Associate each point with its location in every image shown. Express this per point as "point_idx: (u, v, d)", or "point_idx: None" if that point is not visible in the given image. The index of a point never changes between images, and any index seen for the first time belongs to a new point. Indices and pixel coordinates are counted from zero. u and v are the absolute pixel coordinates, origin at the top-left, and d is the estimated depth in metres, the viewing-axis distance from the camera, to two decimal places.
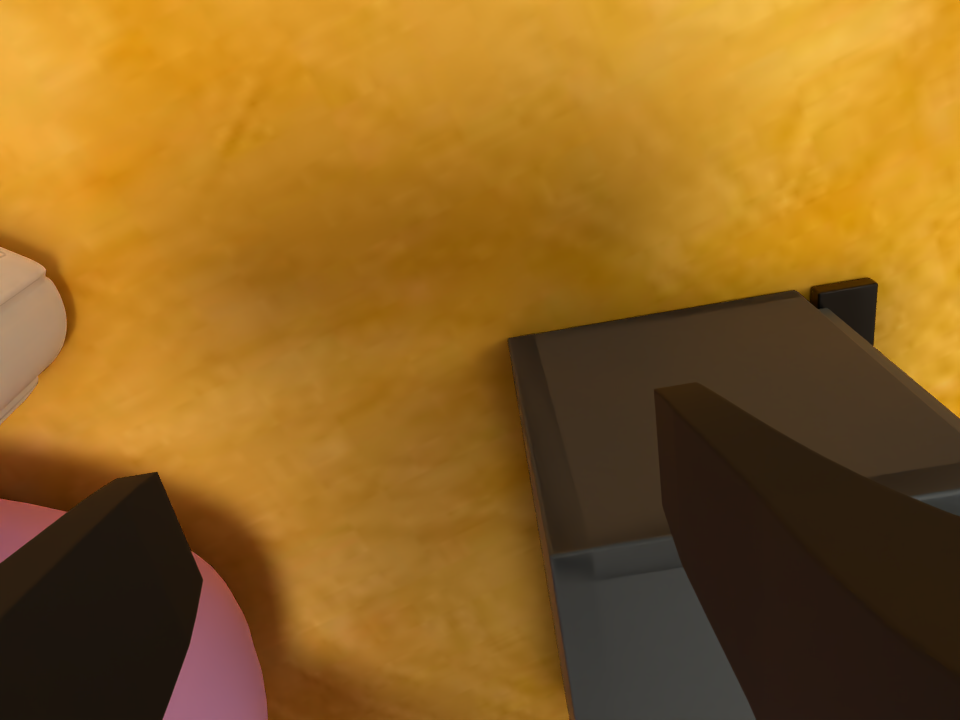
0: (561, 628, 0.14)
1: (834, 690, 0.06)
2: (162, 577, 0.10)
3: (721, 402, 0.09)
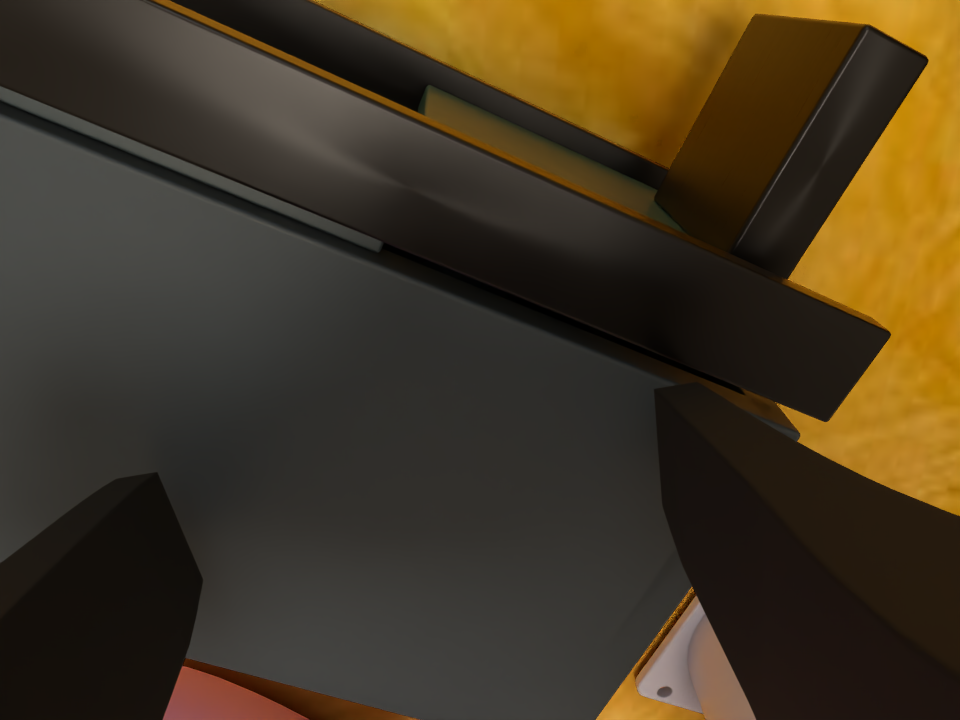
0: None
1: (834, 691, 0.06)
2: (162, 577, 0.10)
3: (721, 402, 0.09)
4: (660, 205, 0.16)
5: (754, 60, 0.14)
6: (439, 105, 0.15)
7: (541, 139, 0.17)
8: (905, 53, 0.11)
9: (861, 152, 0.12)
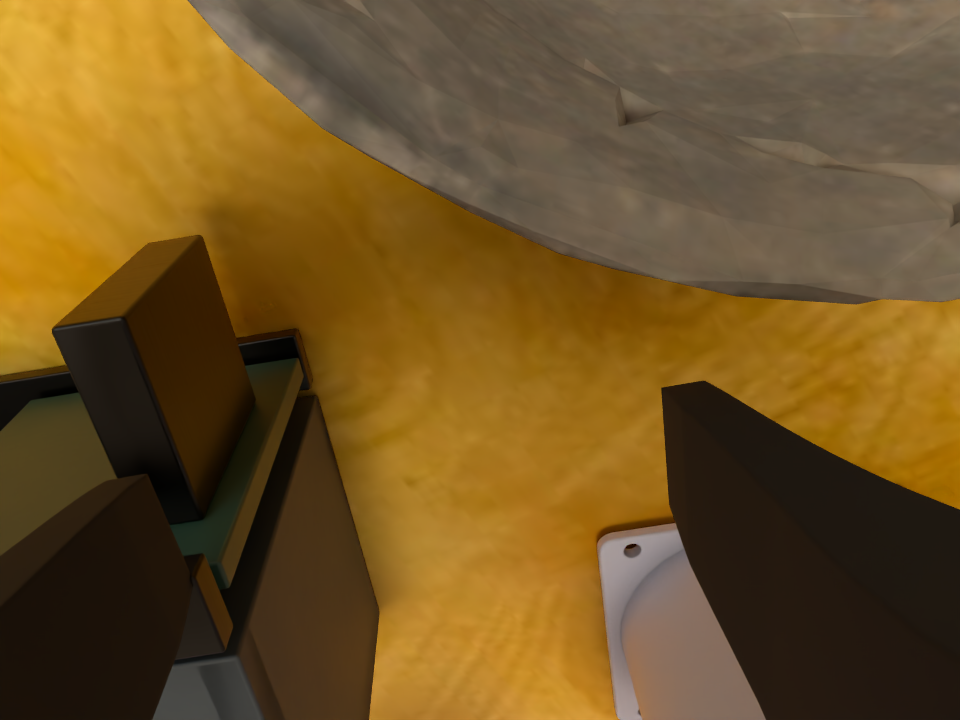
0: None
1: (847, 688, 0.06)
2: (152, 579, 0.10)
3: (730, 401, 0.09)
4: None
5: None
6: None
7: None
8: (99, 327, 0.12)
9: (146, 403, 0.12)
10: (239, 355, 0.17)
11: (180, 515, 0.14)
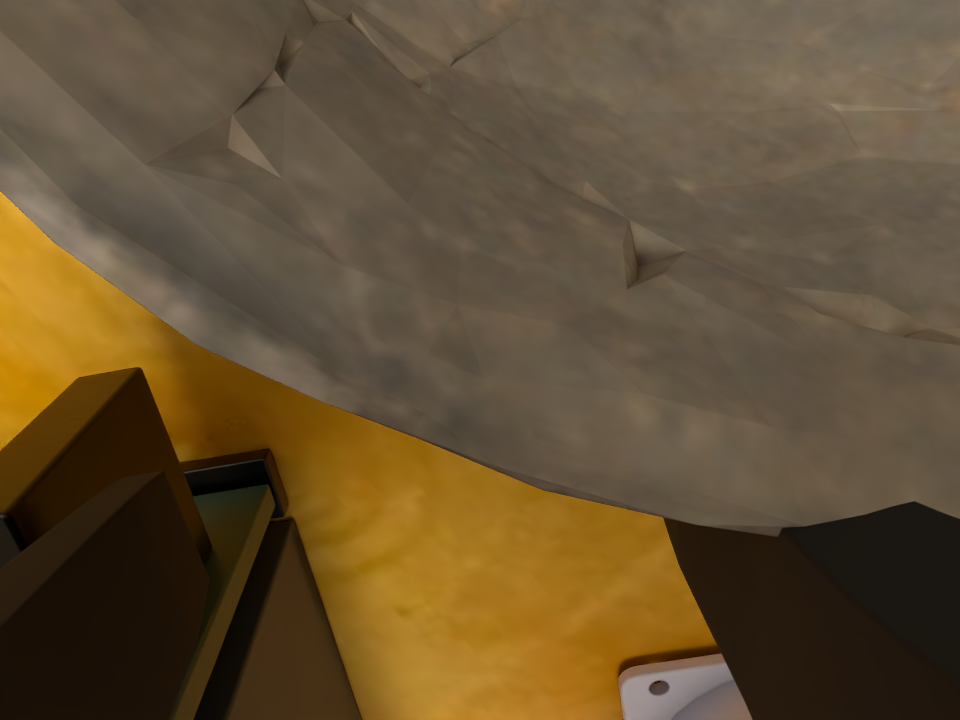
0: None
1: (830, 691, 0.06)
2: (169, 576, 0.10)
3: None
4: None
5: None
6: None
7: None
8: None
9: None
10: (190, 500, 0.14)
11: None
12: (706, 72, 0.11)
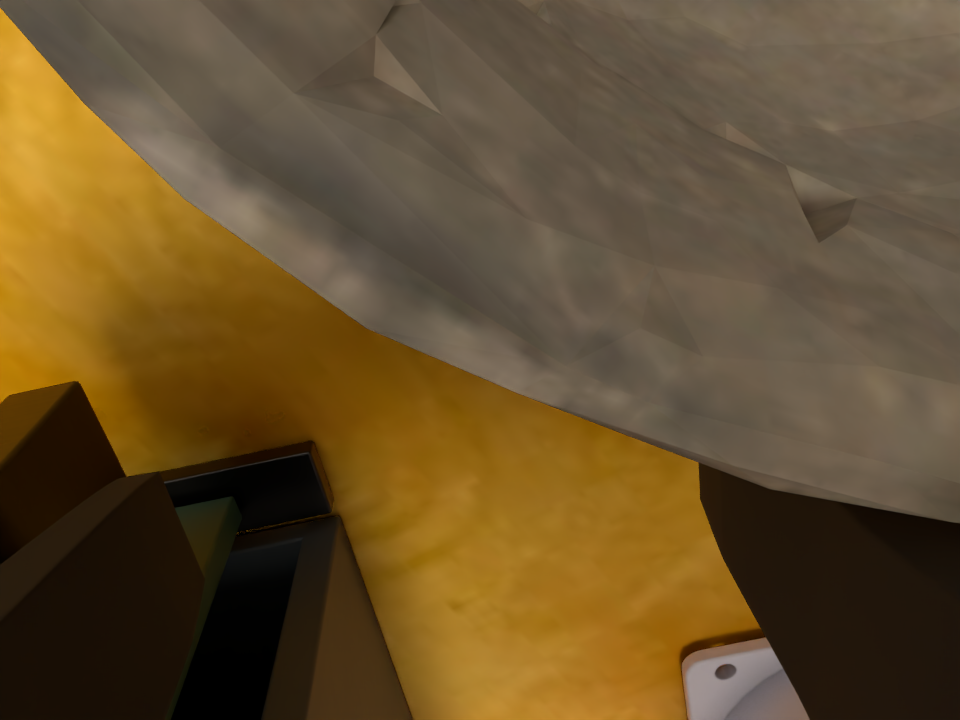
0: None
1: (906, 679, 0.06)
2: (164, 577, 0.10)
3: None
4: None
5: None
6: None
7: None
8: None
9: None
10: None
11: None
12: (825, 0, 0.10)
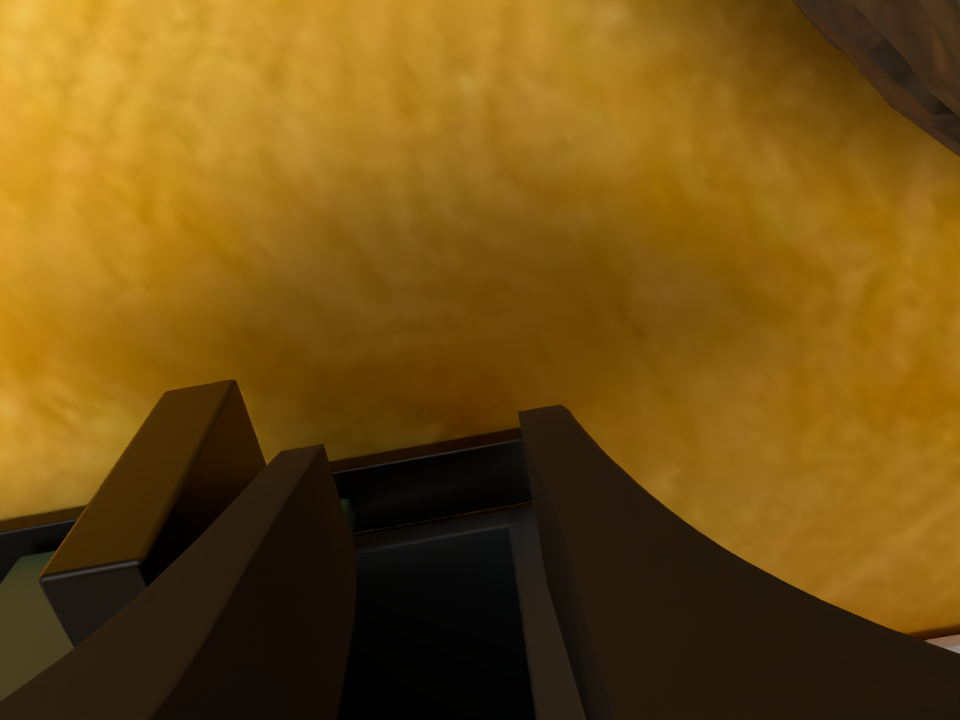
0: None
1: None
2: (334, 549, 0.10)
3: (569, 428, 0.09)
4: None
5: None
6: None
7: None
8: (106, 575, 0.08)
9: None
10: None
11: None
12: None
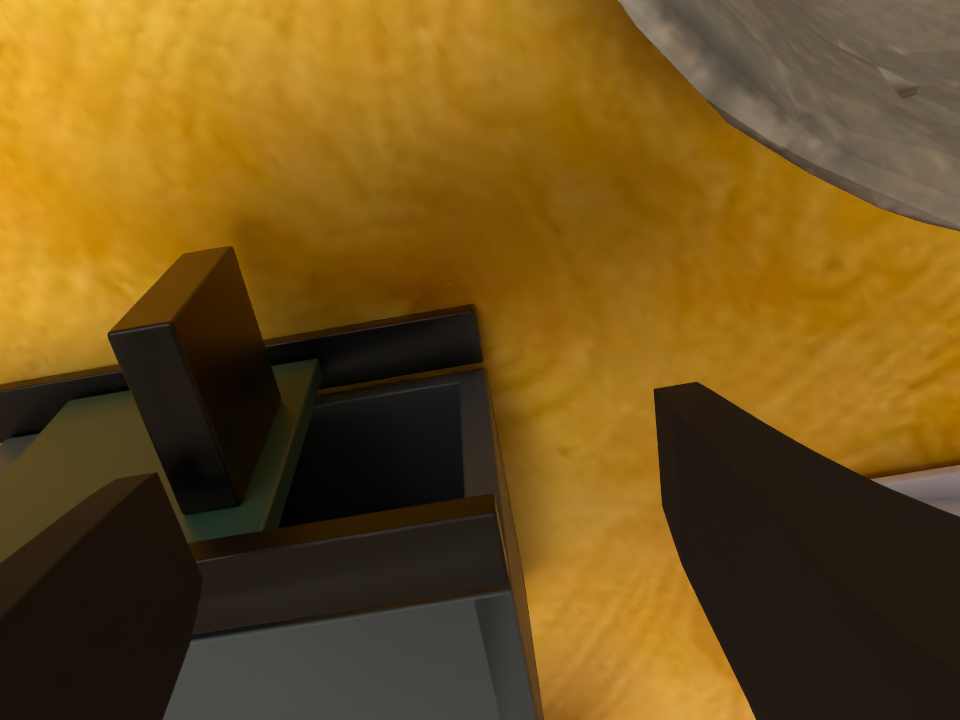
0: None
1: (834, 690, 0.06)
2: (162, 577, 0.10)
3: (721, 402, 0.09)
4: None
5: None
6: (34, 448, 0.19)
7: None
8: (149, 331, 0.13)
9: (191, 399, 0.14)
10: (266, 356, 0.18)
11: (220, 502, 0.15)
12: None
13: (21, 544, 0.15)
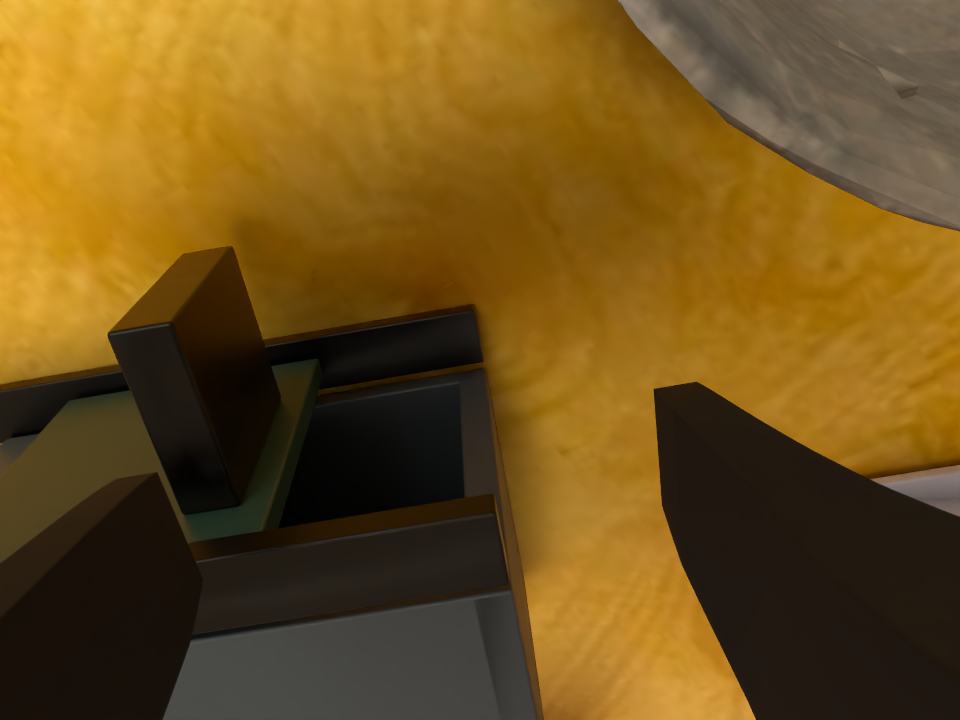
0: None
1: (834, 690, 0.06)
2: (162, 577, 0.10)
3: (721, 402, 0.09)
4: None
5: None
6: (34, 448, 0.19)
7: None
8: (149, 331, 0.13)
9: (191, 399, 0.14)
10: (266, 356, 0.18)
11: (220, 502, 0.15)
12: None
13: (21, 544, 0.15)
